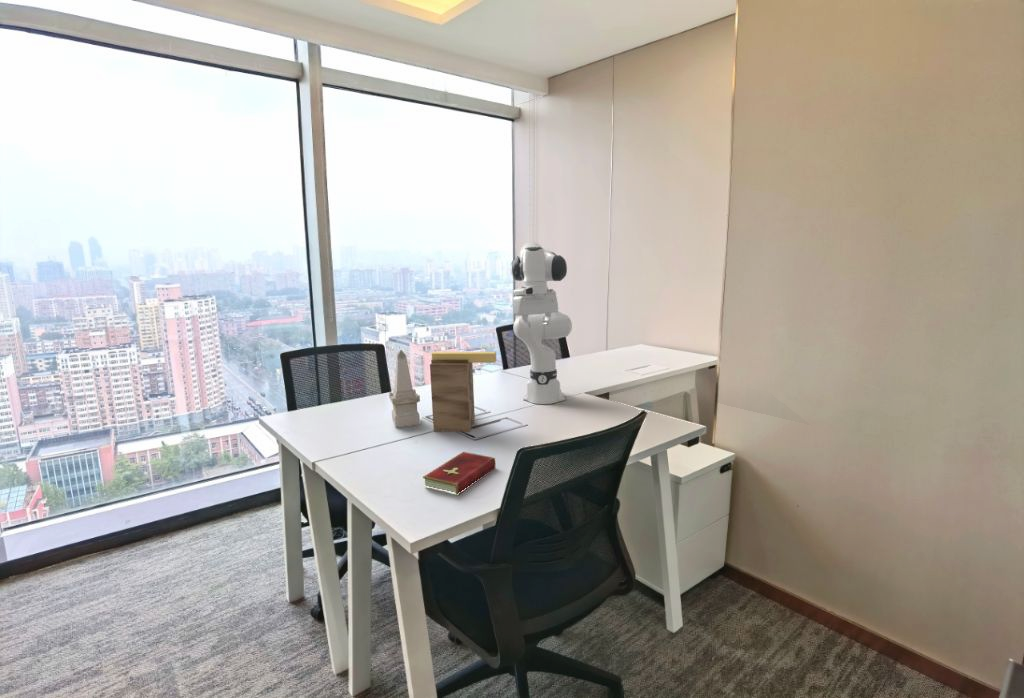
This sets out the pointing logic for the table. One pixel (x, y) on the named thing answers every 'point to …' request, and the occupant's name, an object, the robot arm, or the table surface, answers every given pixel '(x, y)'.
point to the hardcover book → (460, 472)
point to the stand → (452, 395)
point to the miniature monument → (404, 395)
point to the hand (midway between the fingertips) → (537, 326)
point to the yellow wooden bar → (466, 356)
